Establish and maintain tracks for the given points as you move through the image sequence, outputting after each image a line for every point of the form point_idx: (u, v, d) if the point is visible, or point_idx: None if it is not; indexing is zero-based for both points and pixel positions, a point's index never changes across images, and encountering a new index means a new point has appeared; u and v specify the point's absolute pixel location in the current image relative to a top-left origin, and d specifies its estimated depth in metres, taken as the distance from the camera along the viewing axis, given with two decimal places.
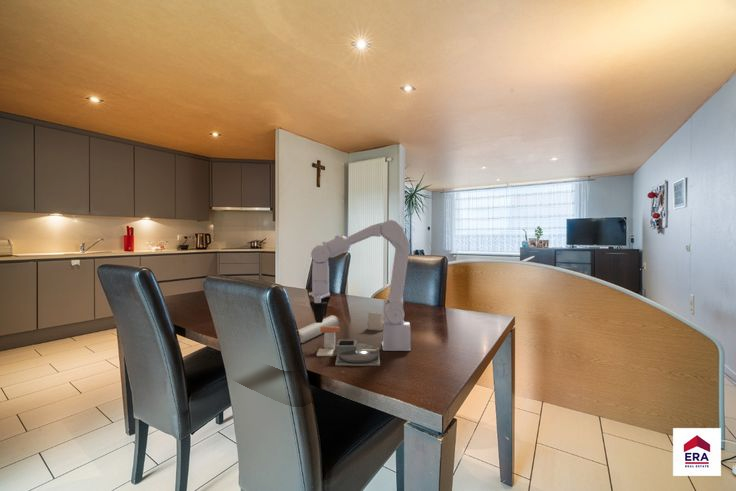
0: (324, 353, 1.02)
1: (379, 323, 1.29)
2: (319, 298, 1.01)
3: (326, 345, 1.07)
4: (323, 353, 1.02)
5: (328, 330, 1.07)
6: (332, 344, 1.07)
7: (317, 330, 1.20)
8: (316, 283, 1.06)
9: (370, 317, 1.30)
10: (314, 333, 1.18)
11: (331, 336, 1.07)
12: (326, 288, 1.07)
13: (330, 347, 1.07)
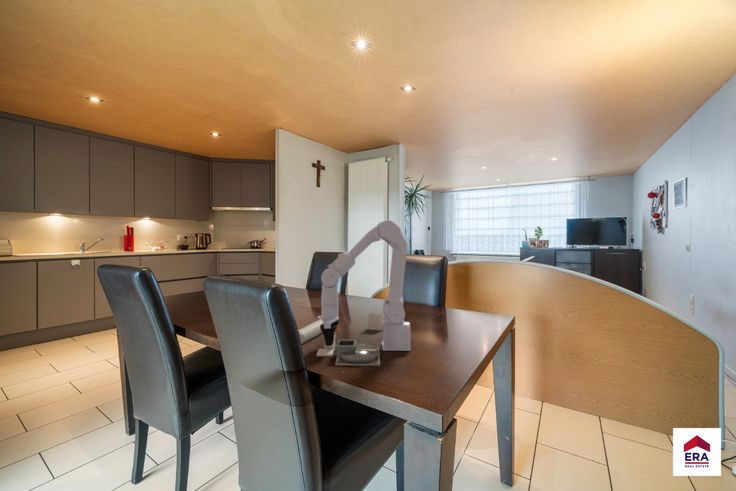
0: (324, 353, 1.02)
1: (379, 323, 1.29)
2: (329, 323, 1.00)
3: None
4: (323, 353, 1.02)
5: None
6: (332, 344, 1.06)
7: (317, 330, 1.20)
8: (325, 307, 1.05)
9: (370, 317, 1.30)
10: (314, 333, 1.19)
11: None
12: (336, 312, 1.06)
13: (330, 347, 1.06)
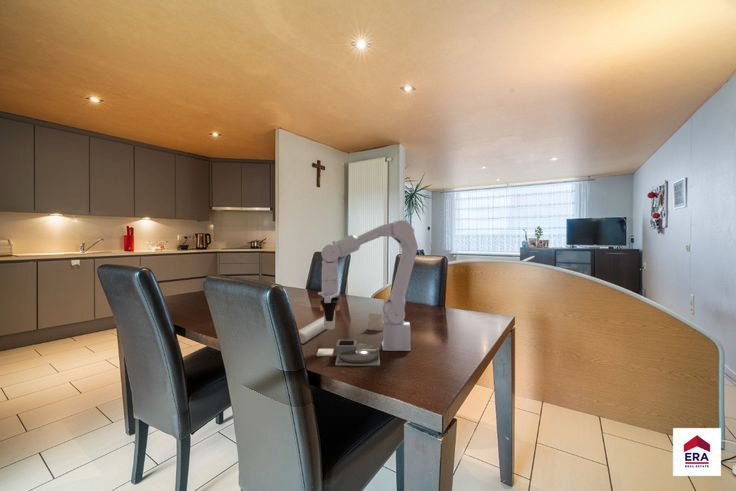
0: (324, 353, 1.02)
1: (379, 323, 1.29)
2: (329, 298, 1.00)
3: (326, 324, 1.06)
4: (323, 353, 1.02)
5: None
6: (332, 323, 1.06)
7: (316, 330, 1.21)
8: (326, 283, 1.05)
9: (370, 317, 1.30)
10: (314, 333, 1.19)
11: None
12: (336, 288, 1.06)
13: (330, 326, 1.06)
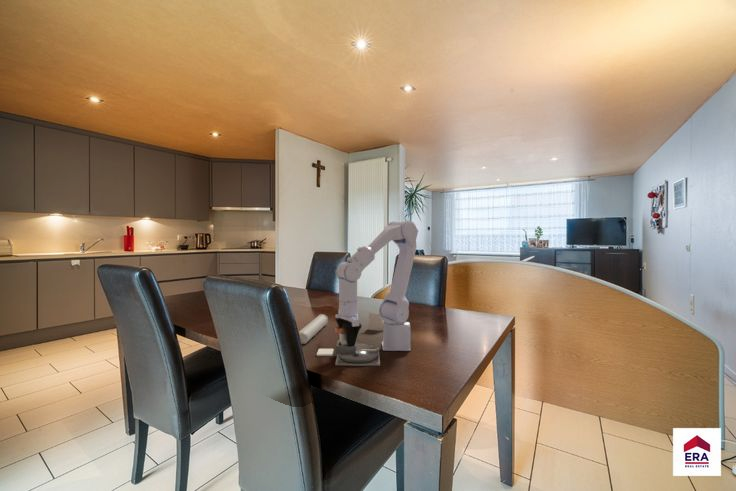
0: (324, 353, 1.02)
1: (380, 323, 1.29)
2: (358, 321, 0.93)
3: None
4: (323, 353, 1.02)
5: (344, 331, 0.99)
6: None
7: (316, 329, 1.21)
8: (347, 304, 0.96)
9: (370, 317, 1.30)
10: (314, 332, 1.19)
11: None
12: (356, 308, 0.99)
13: None
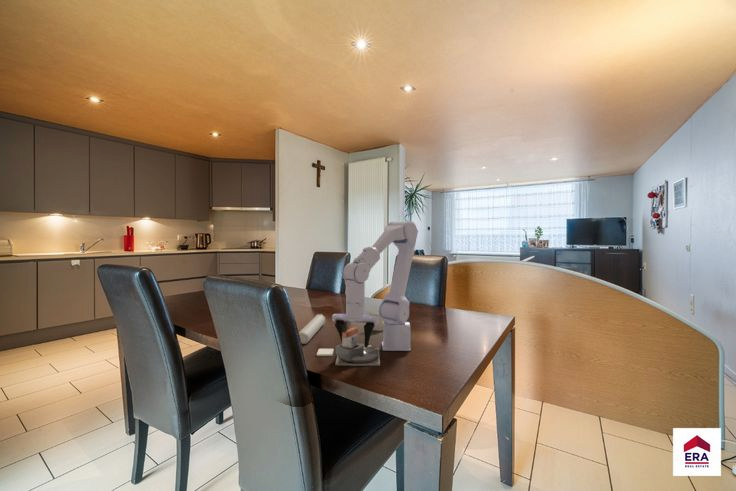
0: (324, 353, 1.02)
1: (380, 323, 1.29)
2: (378, 318, 0.96)
3: None
4: (323, 353, 1.02)
5: (351, 334, 0.97)
6: None
7: (315, 329, 1.21)
8: (362, 305, 0.96)
9: None
10: (314, 332, 1.19)
11: (355, 339, 0.97)
12: None
13: None
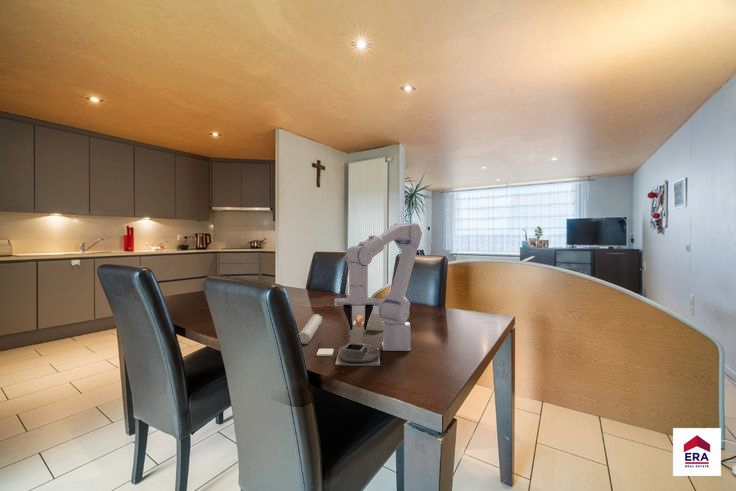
0: (324, 353, 1.02)
1: (380, 323, 1.29)
2: None
3: (361, 339, 0.96)
4: (323, 353, 1.02)
5: (361, 322, 0.96)
6: None
7: (314, 329, 1.21)
8: (366, 288, 0.95)
9: (371, 317, 1.30)
10: (313, 332, 1.20)
11: None
12: None
13: None
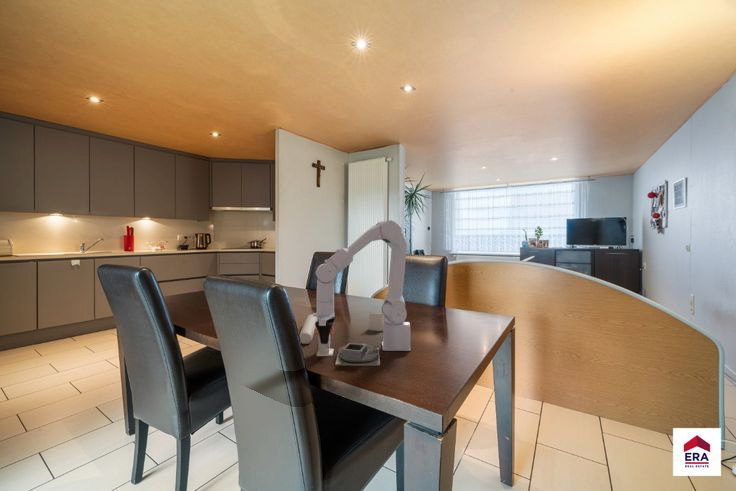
0: (324, 353, 1.02)
1: (380, 324, 1.29)
2: (324, 321, 0.96)
3: (320, 348, 1.02)
4: (323, 353, 1.02)
5: None
6: (327, 347, 1.02)
7: None
8: (321, 304, 1.01)
9: (371, 317, 1.30)
10: (313, 332, 1.20)
11: None
12: (331, 309, 1.02)
13: (324, 350, 1.02)
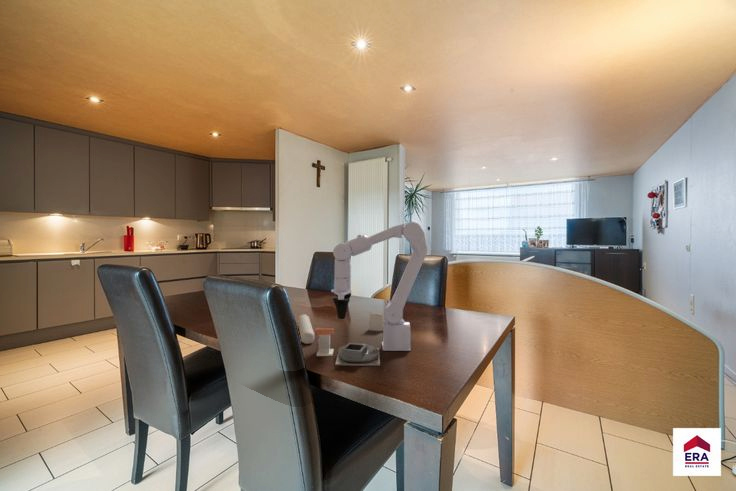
0: (324, 353, 1.02)
1: (380, 324, 1.28)
2: (342, 295, 1.04)
3: (320, 348, 1.02)
4: (323, 353, 1.02)
5: (322, 332, 1.03)
6: (327, 347, 1.02)
7: (312, 328, 1.22)
8: (339, 280, 1.09)
9: (371, 317, 1.29)
10: None
11: (325, 339, 1.02)
12: (349, 285, 1.10)
13: (324, 350, 1.02)
